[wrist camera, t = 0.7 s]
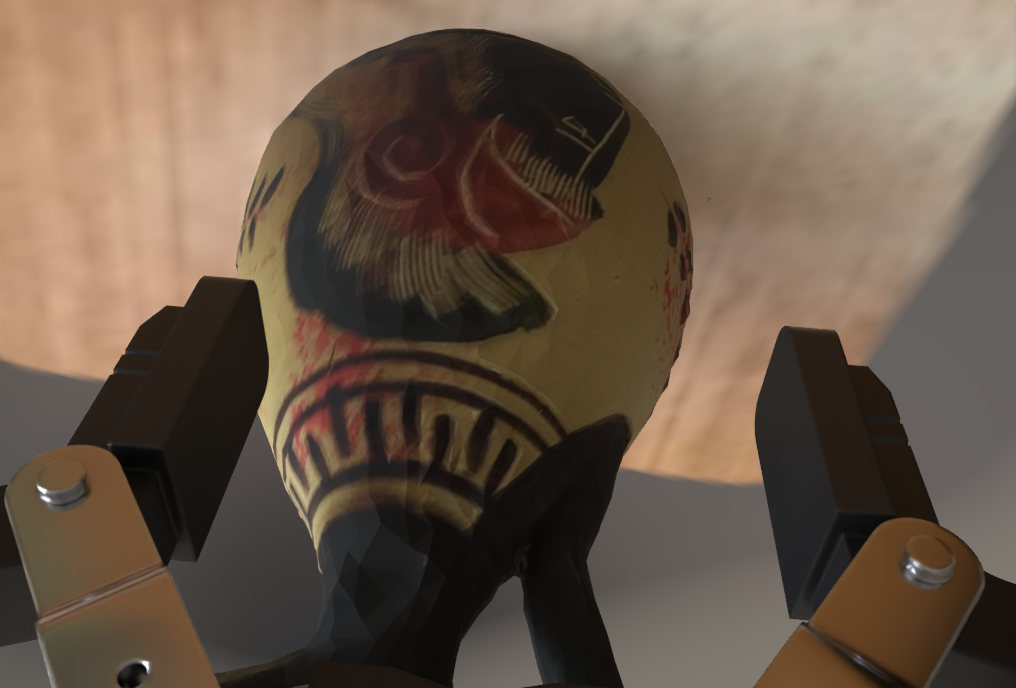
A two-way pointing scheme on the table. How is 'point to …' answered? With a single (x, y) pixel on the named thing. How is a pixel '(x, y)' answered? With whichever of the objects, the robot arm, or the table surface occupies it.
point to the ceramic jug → (461, 341)
